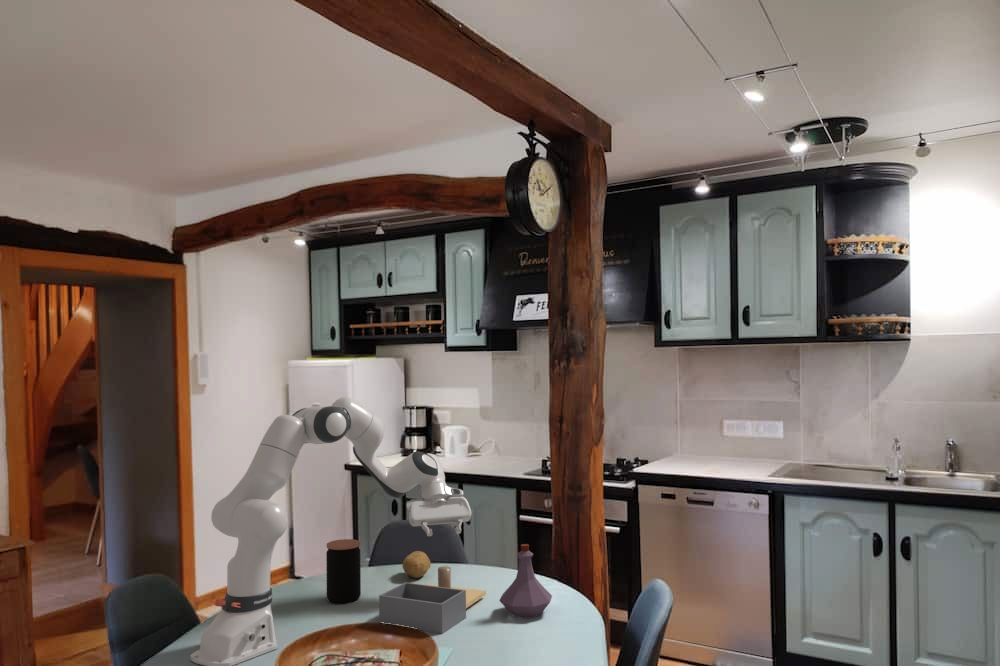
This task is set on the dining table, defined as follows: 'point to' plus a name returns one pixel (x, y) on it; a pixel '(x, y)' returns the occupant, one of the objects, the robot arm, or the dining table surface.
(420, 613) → the tub
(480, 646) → the dining table surface
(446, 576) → the lid
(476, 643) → the dining table surface
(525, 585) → the flask
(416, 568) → the potato
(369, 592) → the dining table surface
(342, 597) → the coffee jar
